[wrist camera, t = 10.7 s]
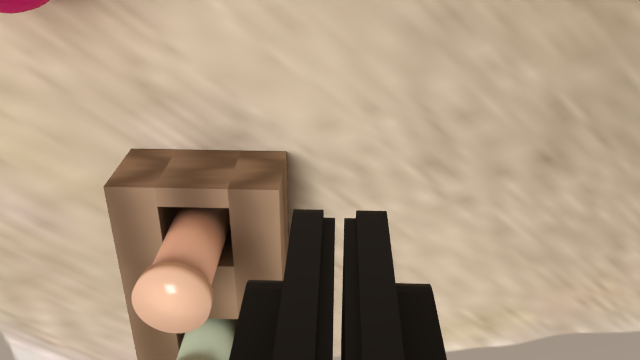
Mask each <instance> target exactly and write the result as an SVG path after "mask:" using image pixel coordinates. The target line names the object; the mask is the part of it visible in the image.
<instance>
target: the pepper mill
mask: <svg viewBox="0 0 640 360" xmlns="http://www.w3.org/2000/svg"><path fill="white" fill-rule="evenodd" d="M48 1H49V0H0V12H1V13H19V12H24V11H28V10H31V9H34V8H38V7H40V6H42V5H44V4H45V3H47V2H48Z"/></svg>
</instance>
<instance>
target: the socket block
mask: <svg viewBox="0 0 640 360" xmlns="http://www.w3.org/2000/svg"><path fill="white" fill-rule="evenodd" d="M104 192H105V197H106V202H107V207H108V212H109V217H110V222H111V227H112V232H113V237H114V242H115V247H116V253H117V258H118V263H119V268H120V273H121V278H122V283H123V288H124V293H125V298H126V303H127V308H128V313H129V319H130V324H131V329H132V334H133V339H134V344H135V349H136V354H137V359H138V360H176V359H177V356H178V353H179V350H180V347H181V344H182V341H183V338H184V335H185V333H167V332H163V331H160V330H157V329H155V328H153V327H151V326H149V325H148V324H146V323H145V322H144V321H143V320H142V319H141V318H140V317H139V316H138V315H137V313H136V312H135V310H134V308H133V305H132V299H131V298H132V291H133V289H134V286H135V284H136V282H137V280H138V278H139V276H140V275H141V273H142V272H143V271H144V270H145V269H147V268H148V267H150V266H151V265H152V264H153V262H154V260H155V258H156V256H157V253H158V251H159V249H160V247H161V245H162V243H163V241H164V239H165V236H166V234H167V232H168V230H169V228H170V226H171V224H172V221H173V219H174V217H175V215H176V213H177V211H178V209H179V207H197V208H229V214H230V227H229V230H228V233H227V236H226V240H225V243H224V246H223V249H222V253H221V256H220V259H219V262H218V266H217V269H216V272H215V275H214V279H213V282H212V285H211V286H212V289H213V294H214V299H213V304H212V307H211V311H210V314H209V317H208V318H212V319H238V317H239V313H240V309H241V304H242V300H243V295H244V291H245V287H246V284H247V281H248V280H278V281H283V279H284V272H285V265H286V258H287V251H288V244H289V228H288V192H287V155H286V152H281V151H223V150H164V149H131V150H130V151H129V153H128V154H127V155H126V157H125V158H124V159H123V161H122V162H121V164H120V165H119V166H118V168H117V169H116V170H115V172H114V173H113V175H112V176H111V177H110V179H109V180H108V181H107V183H106V184H105V186H104Z"/></svg>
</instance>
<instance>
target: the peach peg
mask: <svg viewBox="0 0 640 360" xmlns="http://www.w3.org/2000/svg"><path fill="white" fill-rule="evenodd" d="M229 227H230V214H229V208H197V207H179V209H178V211H177V213H176V215H175V217H174V219H173V221H172V224H171V226H170V228H169V230H168V232H167V234H166V236H165V239H164V241H163V243H162V245H161V247H160V249H159V251H158V253H157V256H156V258H155V260H154V262H153V264H152V265H151V266H150V267H148V268H147V269H145V270H144V271H143V272H142V273H141V275H140V276H139V278H138V280H137V282H136V284H135V286H134V289H133V291H132V298H131V299H132V305H133V308H134V310H135V312H136V313H137V315H138V316H139V317H140V318H141V319H142V320H143V321H144V322H145V323H146V324H148V325H149V326H151V327H153V328H155V329H157V330H160V331H163V332H167V333H186V332H190V331H193V330H195V329H197V328H199V327H200V326H202V325H203V324H204V323H205V321H206V320H207V318H208V317H209V314H210V311H211V307H212V304H213V299H214V294H213V289H212V286H211V285H212V282H213V279H214V275H215V272H216V269H217V266H218V262H219V259H220V256H221V253H222V249H223V246H224V243H225V240H226V236H227V233H228V230H229Z"/></svg>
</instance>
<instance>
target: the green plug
mask: <svg viewBox="0 0 640 360" xmlns="http://www.w3.org/2000/svg"><path fill="white" fill-rule="evenodd" d="M237 322H238V319H212V318H207V320H206V321H205V323H204V324H203V325H202V326H200V327H199V328H197V329H195V330H193V331H190V332H186V333H185V335H184V338H183V341H182V344H181V347H180V350H179V353H178V356H177V359H176V360H229V357H230V352H231V348H232V344H233V339H234V335H235V331H236V326H237Z"/></svg>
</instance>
